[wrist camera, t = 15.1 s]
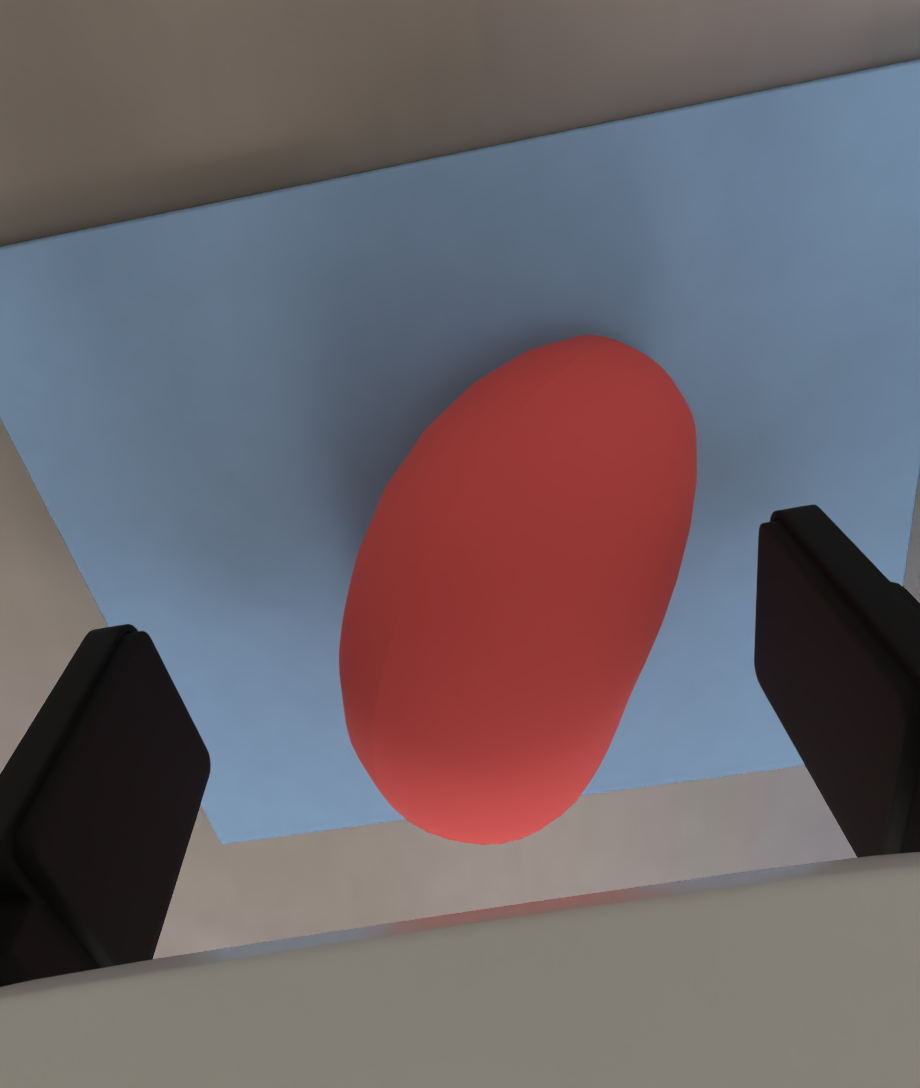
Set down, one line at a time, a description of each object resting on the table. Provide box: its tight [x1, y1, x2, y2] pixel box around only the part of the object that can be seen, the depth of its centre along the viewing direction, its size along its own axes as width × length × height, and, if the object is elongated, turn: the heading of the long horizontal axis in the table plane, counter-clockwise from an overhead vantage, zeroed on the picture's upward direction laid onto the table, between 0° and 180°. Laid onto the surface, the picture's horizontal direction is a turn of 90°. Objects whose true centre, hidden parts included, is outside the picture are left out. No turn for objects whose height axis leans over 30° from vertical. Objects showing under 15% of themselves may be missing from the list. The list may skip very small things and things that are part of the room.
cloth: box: [0, 59, 920, 844], centre depth 15 cm, size 14×16×1 cm
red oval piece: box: [339, 335, 697, 845], centre depth 13 cm, size 5×9×6 cm, turn 157°
